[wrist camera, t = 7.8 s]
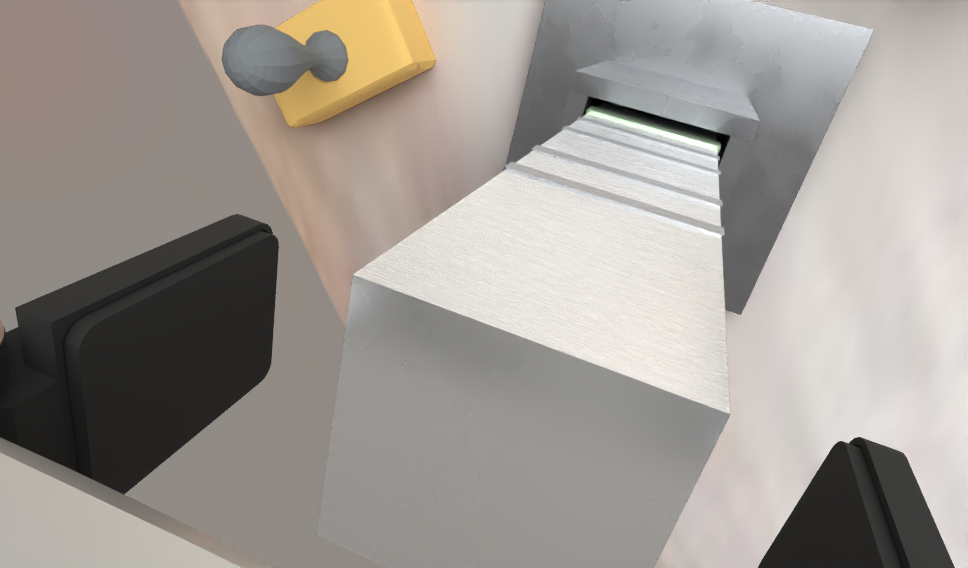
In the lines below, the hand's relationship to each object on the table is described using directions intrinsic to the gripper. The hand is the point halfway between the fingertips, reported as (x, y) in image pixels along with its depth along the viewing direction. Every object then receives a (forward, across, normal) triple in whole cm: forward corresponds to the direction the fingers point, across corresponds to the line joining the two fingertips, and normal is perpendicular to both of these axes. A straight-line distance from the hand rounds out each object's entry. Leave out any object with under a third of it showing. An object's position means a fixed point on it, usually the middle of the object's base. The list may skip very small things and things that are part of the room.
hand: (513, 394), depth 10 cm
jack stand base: (+30, 0, +1) cm, 30 cm away
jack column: (+20, 0, +1) cm, 20 cm away
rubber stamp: (+30, +20, +1) cm, 36 cm away
